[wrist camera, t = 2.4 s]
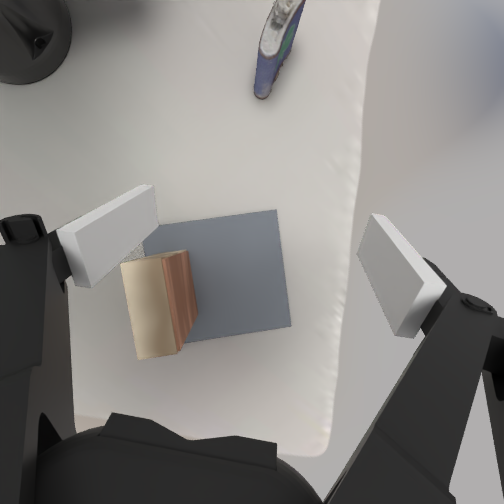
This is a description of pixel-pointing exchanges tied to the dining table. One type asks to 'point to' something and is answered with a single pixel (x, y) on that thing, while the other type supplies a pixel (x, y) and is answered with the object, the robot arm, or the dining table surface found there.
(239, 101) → the dining table surface
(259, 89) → the flask
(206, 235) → the mat
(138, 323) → the wooden block
